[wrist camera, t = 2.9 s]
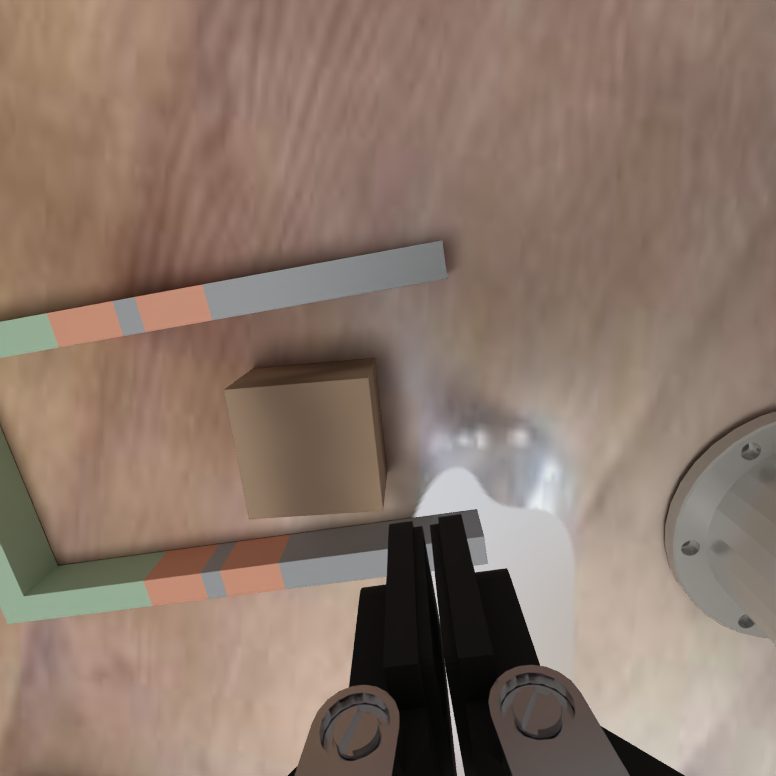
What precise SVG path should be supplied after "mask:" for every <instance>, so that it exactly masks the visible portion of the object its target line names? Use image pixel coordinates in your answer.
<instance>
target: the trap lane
mask: <svg viewBox="0 0 776 776" xmlns="http://www.w3.org/2000/svg"><path fill="white" fill-rule="evenodd" d="M442 279H448V277H447V270H446V263H445V256H444V249H443V242H442V240H441V241H436V242H431V243H425V244H420V245H414V246H409V247H403V248H398V249H393V250H387V251H382V252H376V253H371V254H365V255H360V256H355V257H349V258H344V259H338V260H333V261H327V262H322V263H317V264H311V265H306V266H300V267H295V268H290V269H284V270H279V271H273V272H268V273H262V274H257V275H252V276H246V277H241V278H235V279H230V280H224V281H219V282H214V283H208V284H203V285H197V286H192V287H186V288H181V289H176V290H170V291H165V292H159V293H154V294H148V295H143V296H138V297H132V298H127V299H121V300H116V301H111V302H105V303H100V304H94V305H89V306H83V307H78V308H73V309H67V310H62V311H56V312H51V313H45V314H40V315H35V316H29V317H24V318H18V319H13V320H7V321H2V322H0V358H2V357H8V356H13V355H19V354H25V353H30V352H36V351H42V350H47V349H53V348H58V347H64V346H70V345H75V344H81V343H87V342H92V341H98V340H104V339H109V338H115V337H121V336H126V335H132V334H137V333H143V332H149V331H154V330H160V329H166V328H171V327H177V326H183V325H188V324H194V323H199V322H205V321H211V320H216V319H222V318H228V317H233V316H239V315H245V314H250V313H256V312H262V311H267V310H273V309H278V308H284V307H290V306H295V305H301V304H307V303H312V302H318V301H324V300H329V299H335V298H340V297H346V296H352V295H357V294H363V293H369V292H374V291H380V290H386V289H391V288H397V287H402V286H408V285H414V284H419V283H425V282H431V281H436V280H442ZM456 514H461V515H462V519H463V523H464V528H465V532H466V536H467V541H468V545H469V549H470V554H471V558H472V562H473V566H474V565H483V564H488V561H487V554H486V547H485V540H484V534H483V531H482V527H481V523H480V519H479V516H478V512H477V509H475V510H468V511H460V512H453V513H445V514H438V515H431V516H423V517H416V518H408V519H401V520H394V521H386V522H379V523H371V524H364V525H357V526H349V527H342V528H334V529H327V530H320V531H312V532H305V533H297V534H290V535H283V536H275V537H268V538H260V539H253V540H246V541H238V542H231V543H223V544H216V545H209V546H201V547H194V548H186V549H179V550H172V551H164V552H157V553H149V554H142V555H135V556H127V557H120V558H112V559H105V560H98V561H90V562H83V563H75V564H68V565H61V566H58V565H57V563H56V560H55V558H54V556H53V553H52V551H51V548H50V546H49V543H48V541H47V539H46V536H45V534H44V531H43V529H42V526H41V524H40V522H39V519H38V517H37V514H36V512H35V509H34V507H33V505H32V502H31V500H30V497H29V495H28V492H27V490H26V488H25V485H24V483H23V480H22V478H21V475H20V473H19V471H18V468H17V466H16V463H15V461H14V458H13V456H12V454H11V451H10V449H9V446H8V444H7V441H6V439H5V437H4V434H3V432H2V429H1V427H0V608H1V610H2V612H3V614H4V617H5V619H6V621H7V623H8V624H11V623H19V622H27V621H35V620H43V619H51V618H59V617H67V616H75V615H83V614H91V613H99V612H107V611H115V610H123V609H131V608H139V607H147V606H155V605H163V604H171V603H179V602H187V601H195V600H203V599H211V598H219V597H227V596H235V595H243V594H251V593H259V592H267V591H275V590H283V589H291V588H299V587H307V586H315V585H323V584H331V583H339V582H347V581H355V580H363V579H371V578H379V577H387V556H388V532H389V524H394V523H401V522H407V521H413V525H414V527H418V526H422V527H423V531H424V537H425V542H426V548H427V553H428V559H429V565H430V570H431V571H435V570H434V561H433V551H432V542H431V533H430V525H432V524H439V521H438V517H442V516H449V515H456Z"/></svg>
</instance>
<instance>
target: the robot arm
mask: <svg viewBox="0 0 776 776" xmlns="http://www.w3.org/2000/svg"><path fill="white" fill-rule="evenodd" d="M438 521H439V524H432V525H430V533H431V542H432V551H433V561H434V570H435V579H436V589H437V598H438V607H439V615H438V609H437V604H436V598H435V593H434V587H433V581H432V576H431V570H430V565H429V559H428V553H427V548H426V542H425V537H424V531H423V527H422V526H418V527H414V525H413V521H407V522H401V523H394V524H389V532H388V556H387V581H386V585H379V586H372V587H365V588H362V589H361V591H360V598H359V606H358V615H357V624H356V632H355V641H354V649H353V658H352V667H351V675H350V684H349V688H346V689H344V690H341V691H339V692H338V693H336V694H335V695H333V696H332V697H331V698H329V699H328V700H327V701H326V702H325V703H324V704H323V706H322V707H321V708H320V709H319V710H318V712H317V714H316V716H315V718H314V720H313V722H312V725H311V728H310V731H309V734H308V737H307V740H306V743H305V746H304V749H303V752H302V755H301V758H300V761H299V764H298V766H297V767H296V768H295V769H294V770H293V771H292V772H291V773H290V774H289V775H288V776H457V772H456V763H455V753H454V744H453V735H452V725H451V717H450V707H449V698H448V688H447V680H446V673H447V679H448V684H449V690H450V695H451V701H452V706H453V712H454V717H455V723H456V728H457V734H458V739H459V745H460V751H461V756H462V762H463V767H464V773H465V776H684V775H683V774H681V773H679V772H678V771H676V770H674V769H673V768H671V767H669V766H667V765H666V764H664V763H662V762H661V761H659V760H657V759H656V758H654V757H652V756H651V755H649V754H647V753H645V752H644V751H642V750H640V749H639V748H637V747H635V746H634V745H632V744H630V743H629V742H627V741H625V740H623V739H622V738H620V737H618V736H617V735H615V734H613V733H612V732H610V731H608V730H607V729H605V728H603V727H601V726H600V724H599V723H598V721H597V719H596V718H595V716H594V714H593V713H592V711H591V709H590V708H589V706H588V704H587V702H586V701H585V699H584V697H583V696H582V694H581V692H580V691H579V690H578V689H577V687H576V686H575V685H574V684H573V682H572V681H571V680H569V679H568V678H567V677H565V676H564V675H563V674H561V673H560V672H558V671H555V670H553V669H550V668H548V667H544V666H540V664H539V661H538V658H537V655H536V652H535V649H534V646H533V643H532V640H531V637H530V634H529V631H528V628H527V625H526V622H525V619H524V616H523V613H522V610H521V607H520V604H519V601H518V599H517V595H516V592H515V589H514V586H513V583H512V580H511V578H510V574H509V572H508V570H507V569H498V570H491V571H483V572H476V573H475V571H474V567H473V562H472V558H471V554H470V549H469V545H468V541H467V536H466V532H465V528H464V523H463V519H462V515H461V514H456V515H449V516H442V517H438ZM665 548H666V553H667V558H668V563H669V566H670V568H671V570H672V572H673V574H674V576H675V578H676V580H677V582H678V583H679V585H680V586H681V587H682V589H683V590H684V591H685V593H686V594H687V595H688V597H689V598H690V599H691V600H692V601H693V602H694V603H695V604H696V605H697V606H698V607H699V608H700V609H701V610H702V611H703V612H704V613H705V614H706V615H707V616H709V617H710V618H712V619H714V620H715V621H717V622H718V623H720V624H721V625H723V626H725V627H728V628H730V629H732V630H735V631H737V632H740V633H743V634H748V635H753V636H758V637H762V638H769V639H770V640H771V641H772V642H773V643H774V644H775V645H776V411H775V412H772V413H769V414H765V415H762V416H760V417H758V418H756V419H754V420H751V421H749V422H747V423H745V424H743V425H741V426H739V427H737V428H735V429H734V430H733V431H731V432H730V433H728V434H727V435H726V436H724V437H723V438H721V439H720V440H718V441H717V442H716V443H714V444H713V445H712V446H711V447H710V448H709V449H708V450H707V451H706V452H705V453H704V454H703V455H702V456H701V457H700V458H699V459H698V460H697V461H696V462H695V463H694V464H693V466H692V467H691V468H690V470H689V471H688V473H687V474H686V475H685V477H684V478H683V480H682V481H681V482H680V484H679V487H678V489H677V491H676V493H675V495H674V497H673V499H672V501H671V504H670V508H669V512H668V516H667V520H666V524H665ZM439 616H440V621H439ZM440 626H441V627H440ZM444 660H445V661H444ZM445 667H446V670H445Z"/></svg>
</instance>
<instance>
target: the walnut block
mask: <svg viewBox="0 0 776 776" xmlns="http://www.w3.org/2000/svg"><path fill="white" fill-rule="evenodd" d="M224 393H225V398H226V403H227V408H228V413H229V419H230V424H231V429H232V434H233V439H234V444H235V449H236V455H237V460H238V465H239V470H240V475H241V480H242V485H243V491H244V496H245V501H246V506H247V511H248V516H249V519H260V518H276V517H291V516H307V515H322V514H338V513H354V512H369V511H383V506H384V497H385V488H386V478H387V466H386V457H385V447H384V438H383V429H382V419H381V410H380V400H379V391H378V382H377V372H376V363H375V358H370V359H358V360H346V361H335V362H323V363H312V364H300V365H289V366H277V367H266V368H254V369H252V370H250V371H249V372H248V373H246V374H245V375H243V376H242V377H241V378H239V379H238V380H237V381H235V382H234V383H233V384H231V385H230V386H229V387H227V388H226V389H225V390H224Z"/></svg>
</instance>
